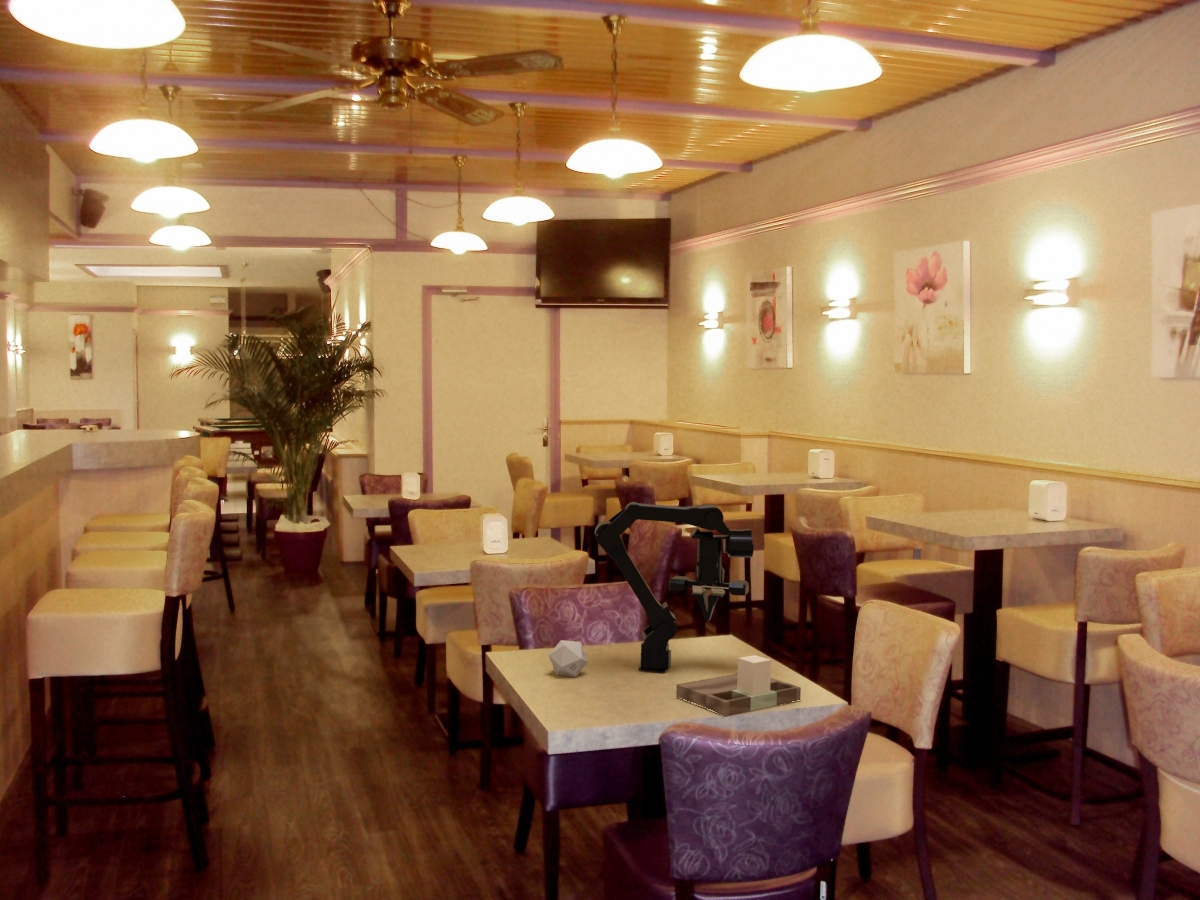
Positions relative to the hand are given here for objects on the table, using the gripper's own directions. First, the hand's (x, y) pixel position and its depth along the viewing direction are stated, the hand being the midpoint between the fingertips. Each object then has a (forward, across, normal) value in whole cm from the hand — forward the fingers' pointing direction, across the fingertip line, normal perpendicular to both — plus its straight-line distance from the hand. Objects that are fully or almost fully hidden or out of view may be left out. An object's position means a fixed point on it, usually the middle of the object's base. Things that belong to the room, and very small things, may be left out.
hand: (707, 620), depth 264 cm
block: (+9, -15, +25) cm, 31 cm away
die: (+12, +30, +16) cm, 36 cm away
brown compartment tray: (+12, -12, +22) cm, 28 cm away
